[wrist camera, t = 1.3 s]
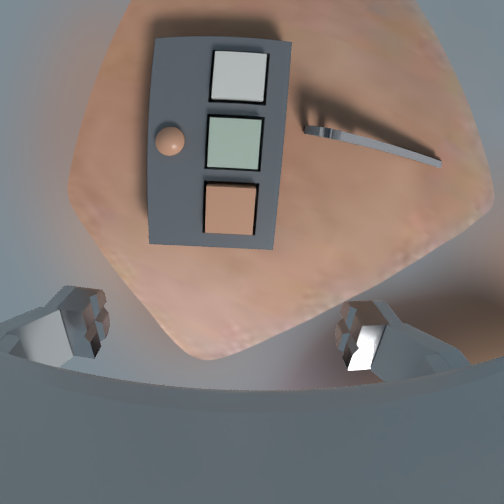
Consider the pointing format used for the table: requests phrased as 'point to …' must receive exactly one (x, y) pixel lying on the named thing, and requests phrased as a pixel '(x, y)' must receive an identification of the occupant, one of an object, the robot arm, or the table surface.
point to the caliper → (369, 144)
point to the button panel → (197, 137)
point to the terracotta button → (230, 207)
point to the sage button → (234, 143)
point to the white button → (239, 76)
